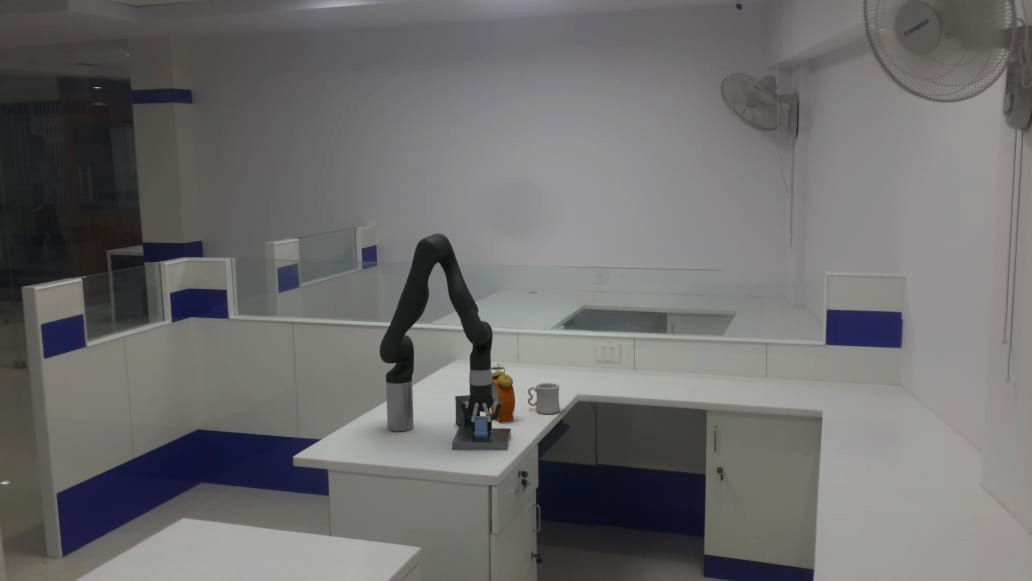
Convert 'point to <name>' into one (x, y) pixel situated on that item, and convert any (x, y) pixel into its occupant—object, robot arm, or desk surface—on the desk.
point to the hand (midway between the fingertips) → (481, 431)
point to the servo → (481, 427)
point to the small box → (460, 415)
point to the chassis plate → (481, 440)
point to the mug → (546, 398)
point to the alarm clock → (503, 395)
